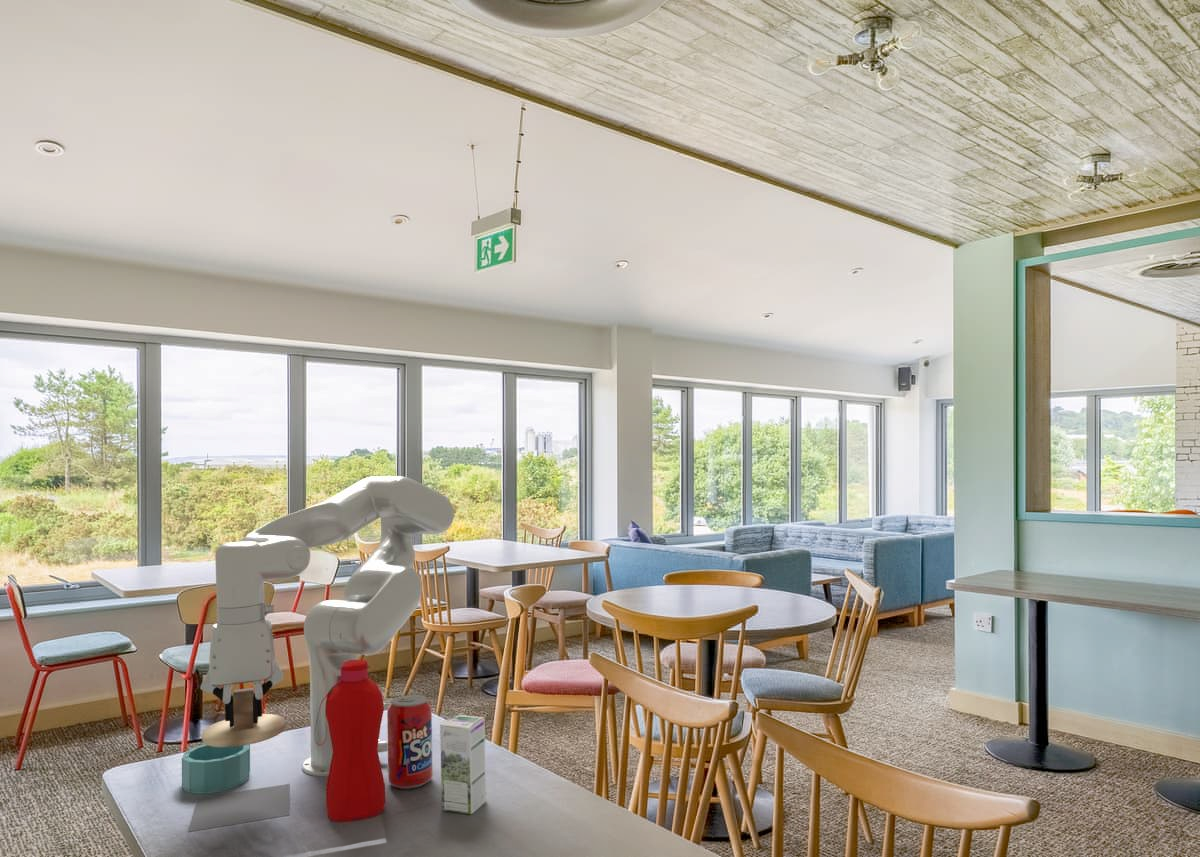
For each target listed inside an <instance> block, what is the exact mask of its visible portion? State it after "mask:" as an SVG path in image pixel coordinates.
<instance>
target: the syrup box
mask: <svg viewBox="0 0 1200 857" xmlns="http://www.w3.org/2000/svg"><path fill="white" fill-rule="evenodd" d="M485 722H486V721H485V717H483V716H474V715H465V714H464V715H463V714H462V715H461V714H454V715H452V716H450V717H448V718H447V719H446V720H444V721H443V722H442V723H440V725H439V732H440V733H439V734H440V735H439V736H440V738H439V739H440V776H441V777H440V780H441V781H440V783H441V786H440V787H441V810H442V811H444V812H451V813H457V814H464V815H465V814H466V815H473V814H474V813H475V812H477V811H478V809H479V808H481V807H482V806H483V805H484V804H485V803H486V802H487V786H486V785H487V784H486V736H485V735H486V733H485V732H486V730H485V728H486V727H485Z"/></svg>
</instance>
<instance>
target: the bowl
mask: <svg viewBox="0 0 1200 857" xmlns="http://www.w3.org/2000/svg"><path fill="white" fill-rule="evenodd" d="M250 774H251V744H249V745H244V746H236V747H213V746H208V745H206V744H204V743H203V744H201V745H200V744H199V745H197V746H194V747H192V748H191V749H189V750H186V751H185V752H183V755H182V758H181V787H182V789H183V790H184V792H187V793H190V794H196V795H197V794H202V795H203V794H212V793H213V794H214V793H218V792H219V793H220V792H224V791H228V790H231V789H233V788H236V787H239V786H241V785H242V784H245V783H246V782H247V781H248V780H249V779H250Z"/></svg>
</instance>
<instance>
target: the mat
mask: <svg viewBox="0 0 1200 857" xmlns="http://www.w3.org/2000/svg"><path fill="white" fill-rule="evenodd" d="M290 790H291V785H290V783H286V784H279V785H273V786H266V787H259V788H253V789H248V790H241V791H233V792H228V793H221V794H214V795H213V794H212V795H208V796H207V795H206V796H199V797H197V799H196V802H195V806H194V810H193V813H192V816H191V820H190V822H189V826H188V829H187V832H188V833H191V832H198V831H204V830H208V829H214V828H215V829H216V828H222V827H229V826H233V825H240V824H246V823H252V822H257V821H258V822H259V821H264V820H270V819H276V818H282V817H288V816H290V807H291V806H290V803H291V802H290V800H291V798H290V797H291V796H290V795H291V794H290V792H291V791H290Z"/></svg>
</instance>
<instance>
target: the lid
mask: <svg viewBox="0 0 1200 857" xmlns="http://www.w3.org/2000/svg"><path fill="white" fill-rule="evenodd" d="M232 693H233V695H232V696H233V711H234V726H233V727H230V721H225V719H223V720H220V721H217V722H214V723H212V724H210V725H208V726H207V727H206V728H204V729H203V730H202V732H201V742H202V743H203V745H204V744H206V745H208V746H213V747H236V746H244V745H249V744H250V745H253V744H257V743H260V742H264V741H267V740H270V739H273V738H275V737H277V736H278V735H280V734H282V733H283V732H284V731H285V729H286V720H285V718H284V717H283V716H281V715H278V714H270V713H262V716H261V717H258V723H257V724H254V723H253V697H254V687H250V688H242V689H235V690H233V692H232Z"/></svg>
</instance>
